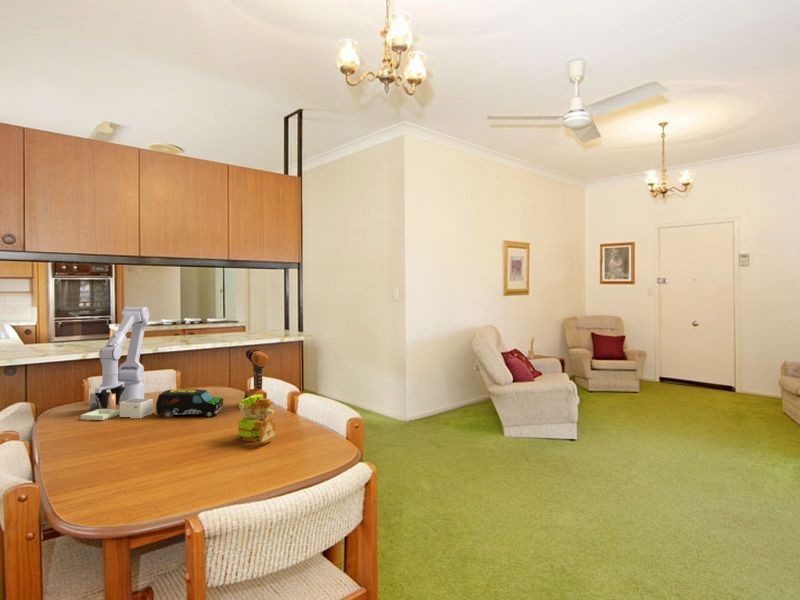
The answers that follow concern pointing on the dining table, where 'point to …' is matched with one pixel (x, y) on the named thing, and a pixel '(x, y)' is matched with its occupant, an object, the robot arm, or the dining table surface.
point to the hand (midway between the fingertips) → (110, 406)
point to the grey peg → (94, 402)
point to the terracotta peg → (111, 402)
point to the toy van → (188, 403)
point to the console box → (136, 408)
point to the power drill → (257, 371)
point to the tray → (100, 414)
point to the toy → (256, 419)
